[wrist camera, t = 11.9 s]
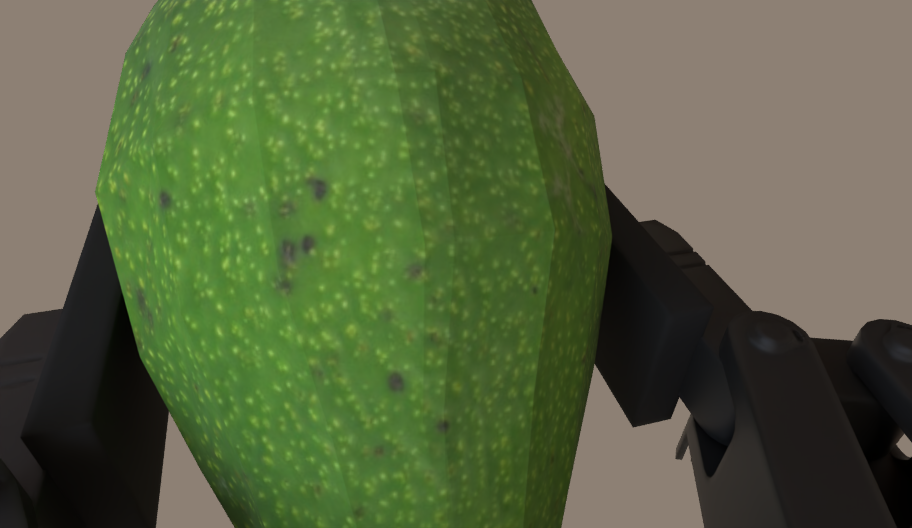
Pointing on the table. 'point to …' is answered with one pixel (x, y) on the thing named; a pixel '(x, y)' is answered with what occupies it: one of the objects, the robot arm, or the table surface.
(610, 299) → the robot arm
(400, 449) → the avocado
